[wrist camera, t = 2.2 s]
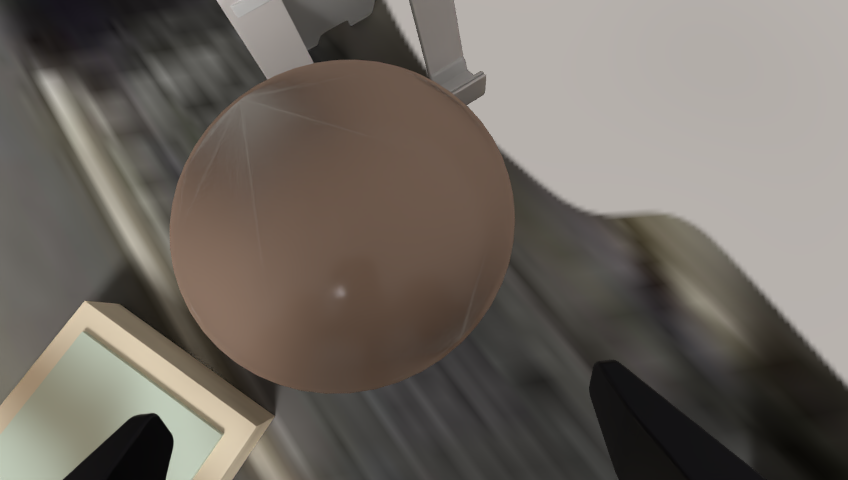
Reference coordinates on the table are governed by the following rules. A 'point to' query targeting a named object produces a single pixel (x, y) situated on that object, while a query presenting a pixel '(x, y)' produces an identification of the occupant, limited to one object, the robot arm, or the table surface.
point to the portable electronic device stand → (335, 3)
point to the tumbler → (342, 226)
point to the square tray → (123, 401)
